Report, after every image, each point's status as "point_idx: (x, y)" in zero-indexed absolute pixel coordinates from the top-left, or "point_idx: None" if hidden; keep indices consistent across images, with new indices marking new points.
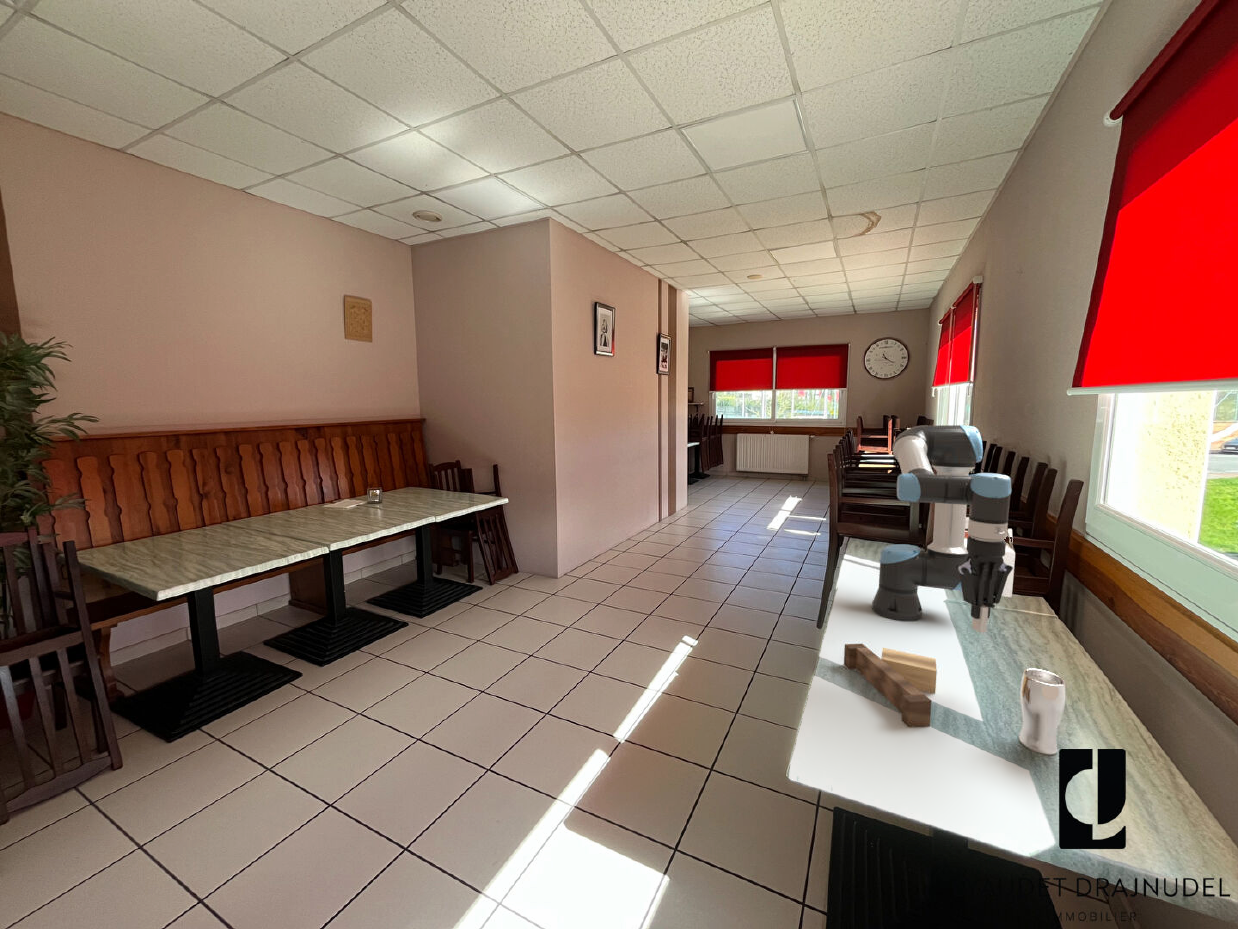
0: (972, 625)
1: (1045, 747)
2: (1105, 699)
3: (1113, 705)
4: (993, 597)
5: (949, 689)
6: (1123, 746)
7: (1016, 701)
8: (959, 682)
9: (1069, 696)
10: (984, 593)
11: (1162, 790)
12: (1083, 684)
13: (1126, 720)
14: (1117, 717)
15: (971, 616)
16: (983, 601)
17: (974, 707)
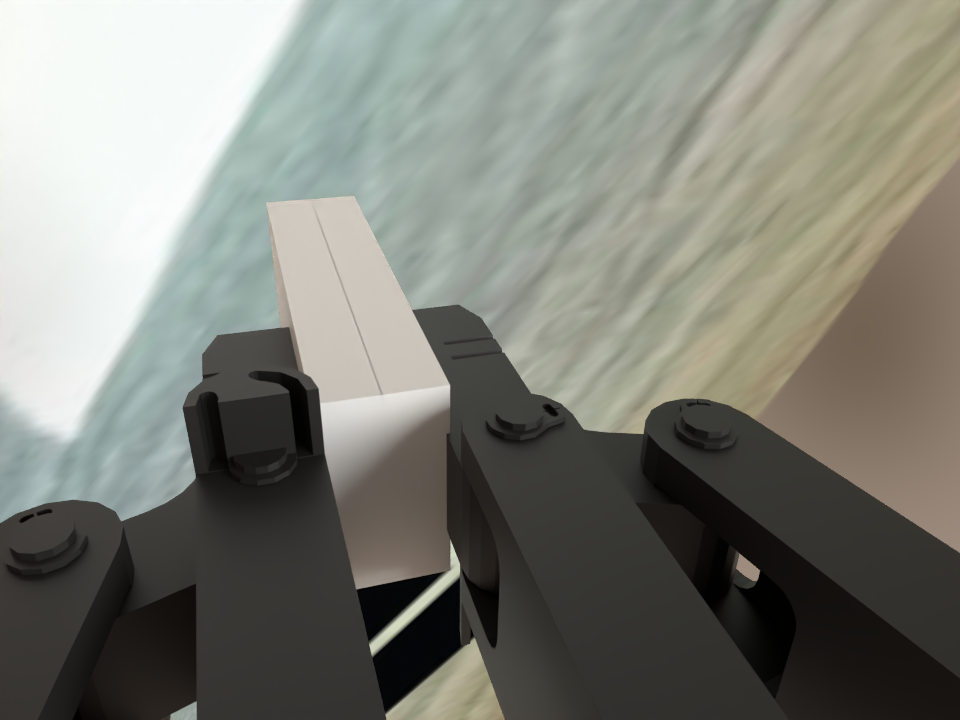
0: (272, 221)
1: None
2: (878, 223)
3: (855, 271)
4: (706, 566)
5: (45, 104)
6: None
7: (424, 249)
8: (194, 5)
9: (750, 197)
10: (531, 700)
11: (475, 714)
12: (939, 78)
13: (778, 378)
14: (768, 360)
15: (219, 336)
16: (472, 517)
17: (105, 320)
